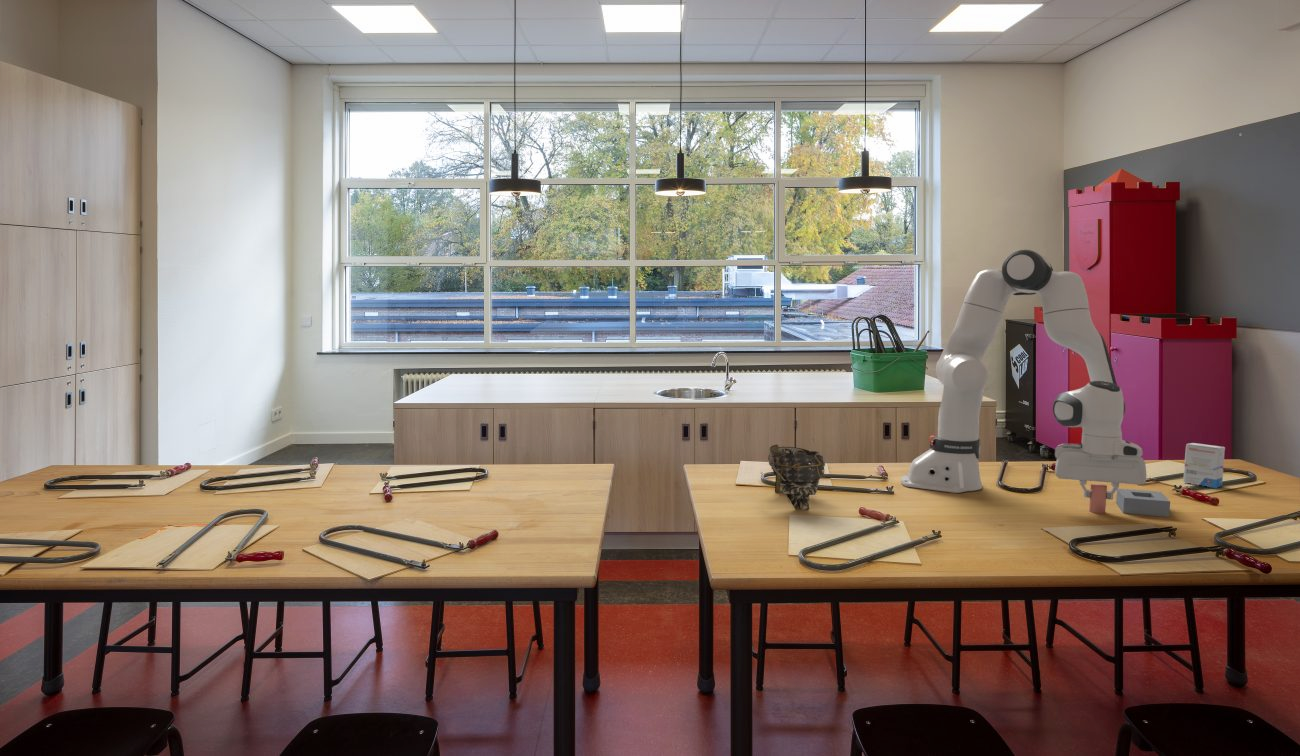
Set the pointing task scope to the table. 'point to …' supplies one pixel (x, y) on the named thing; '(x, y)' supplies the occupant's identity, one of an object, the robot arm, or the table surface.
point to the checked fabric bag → (796, 473)
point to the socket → (1143, 502)
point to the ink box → (1204, 465)
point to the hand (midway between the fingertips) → (1098, 498)
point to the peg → (1098, 498)
